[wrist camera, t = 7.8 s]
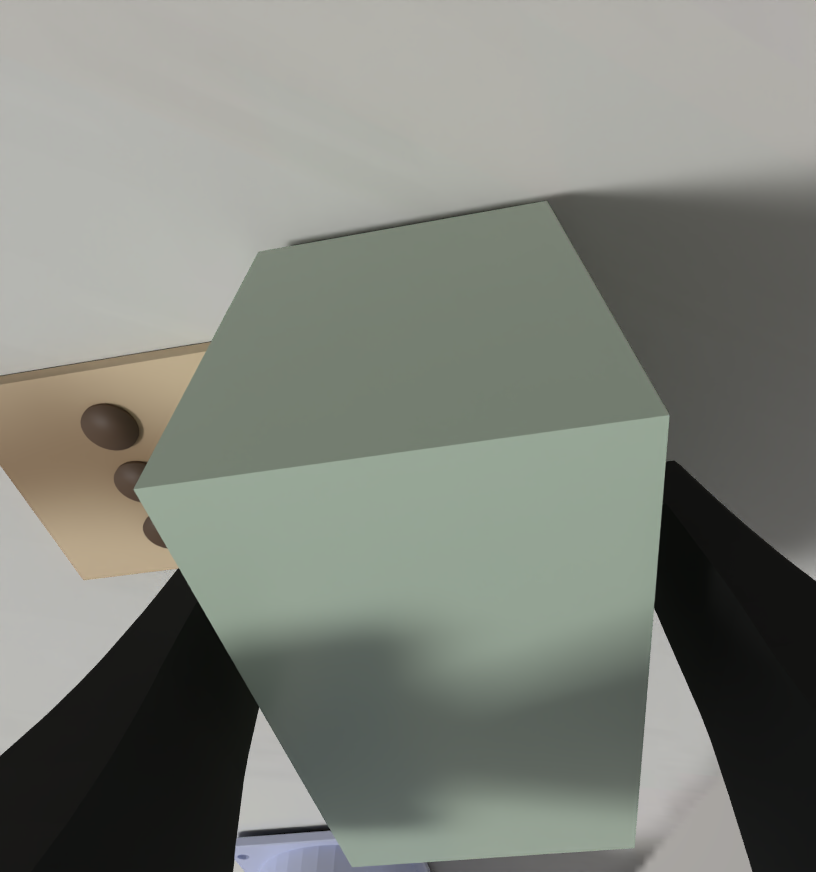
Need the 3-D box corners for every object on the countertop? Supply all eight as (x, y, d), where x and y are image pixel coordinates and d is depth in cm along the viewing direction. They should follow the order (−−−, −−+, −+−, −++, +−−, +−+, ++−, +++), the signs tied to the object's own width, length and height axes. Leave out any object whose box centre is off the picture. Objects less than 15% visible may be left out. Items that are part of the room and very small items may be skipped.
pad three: (303, 542, 17) (300, 556, 16) (89, 568, 17) (82, 583, 17) (224, 339, 13) (217, 351, 13) (-42, 383, 14) (-55, 395, 13)
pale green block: (564, 570, 17) (634, 847, 11) (369, 592, 17) (352, 867, 12) (546, 200, 11) (669, 414, 6) (258, 251, 12) (133, 489, 6)
